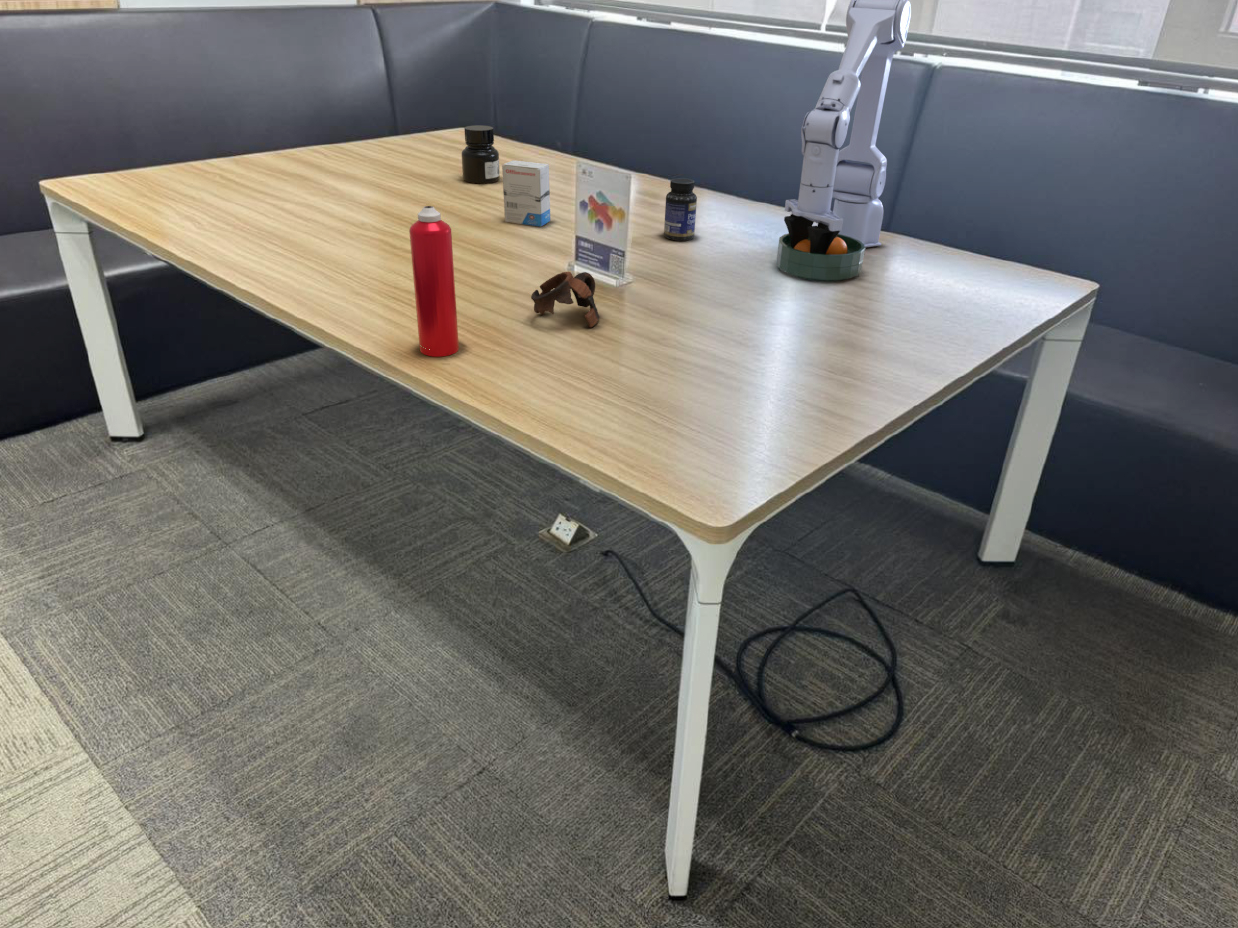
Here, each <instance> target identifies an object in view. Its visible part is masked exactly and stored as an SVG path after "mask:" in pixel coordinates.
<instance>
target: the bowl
mask: <svg viewBox="0 0 1238 928" xmlns="http://www.w3.org/2000/svg"><path fill="white" fill-rule="evenodd" d="M837 237H839V238H841V239H842V240H843V241H844V242H845V243H846V245H847V254H841V255H827V254H815V253H809V252H804V251H800V250H797V249H793V248H791V242H790V236H789V232H788V233H785V234H783V235H781V236H779V239H778V245H777V252H776V253H777V254H776V261H775V262H776V263H775V266H776V267H777V268H778V269H779V270H781V271H783V272H785V273H786V274H788V275H789V276H793V277H796V278H799V279H804V280H809V281H813V282H815V281H816V282H839V281H840V282H841V281H845V280H848V279H852V278H854V277H857V276H859V275H860V274H861V272H862V269H863V263H864V257H865V251H866V247H865V245H864V244H863V243H862V242H861V241H859V240H857V239H855V238H852V237H849V236H846V235H842V234H838V235H837ZM809 238H810V237H809V236H808V239H809Z"/></svg>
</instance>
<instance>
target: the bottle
mask: <svg viewBox="0 0 1238 928" xmlns="http://www.w3.org/2000/svg"><path fill="white" fill-rule="evenodd" d="M408 231H409V242H410V253H411V264H412V277H413V287H414V288H413V289H414V300H415V310H416V321H417V334H418V345H419V352H420V353H421V354H423V355H425V356H429V357H435V358H437V357H447V356H448V357H449V356H451V355H454V354H456V353H458V351H459V350H460V345H459V344H460V342H459V329H458V327H459V325H458V313H457V311H458V310H457V298H456V297H457V296H456V283H455V282H456V281H455V268H454V267H455V266H454V251H453V250H454V249H453V233H452V228H451V226H450V224H449V223H447V222H445V221H444V220H442V217H441V212H440V211H437V209H436V208H435V207H434V206H433V205H425V206H423V207H422V209H421V210H420V211H419V212H418V213H417V221H415V222H414V223H412V224H411V225H410V227H409V230H408ZM420 345H421V346H422V347H421V346H420ZM423 347H424V348H423ZM425 348H426V349H425ZM429 349H430V350H429Z"/></svg>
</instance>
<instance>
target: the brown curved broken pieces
mask: <svg viewBox="0 0 1238 928" xmlns="http://www.w3.org/2000/svg"><path fill="white" fill-rule="evenodd" d="M539 288H540V290H541V292H540V291H539V290H538V289H535V290H534V291H533V292H532V293H531V296H530V299H531V300H532V301H533V303H534V305H533V312H534V313H536V314H540V315H545V313H546V312H547V313H550V314H552V315H554V314H555V311H554V308H555V302H557V303H559V304H565V305H572V304H574V299H573V298H572V294H573V295H574V298H575V300H576V304H577V306H578V307H582V308H588V307H589V310H588V312H587V313H586V314H585V315H584V318H585V320H586V321H587V324H588V327H589V328H590V329H591V328H593V327H594V326H595V325H596V324H597V323H598V321H599V320H600V315H599V311H598V308H597V305H596V303H595V300H594V299H595V298H594V295H595V292H596V280H595V279H594V277H593V276H592V274H590V273H589V272H586V271H583V272H580V273H577V274H576V275H575V276H573V273H572V272H571V271H563V272H560V273H558V274H555V275H554V276H551V277H550V278H549V279H547V280H546V281H544V282H543V283H541V284H540V285H539ZM571 292H572V293H571Z"/></svg>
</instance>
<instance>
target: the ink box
mask: <svg viewBox="0 0 1238 928" xmlns="http://www.w3.org/2000/svg"><path fill="white" fill-rule="evenodd" d="M501 168H502V169H501V170H502V171H501V172H502V187H503V188H502V189H503V192H502V193H503V209H504V222H505V223H511V224H516V225H517V224H518V225H525V226H532V227H539V228H540V227H543V226H544V225H547V224H548V223H549V222H551V198H550V197H551V196H550V195H551V194H550V193H551V192H550V164H548V163H542V162H532V161H523V160H516V159H515V160H511V161H508V162H505V163H503V164H502V165H501Z"/></svg>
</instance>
